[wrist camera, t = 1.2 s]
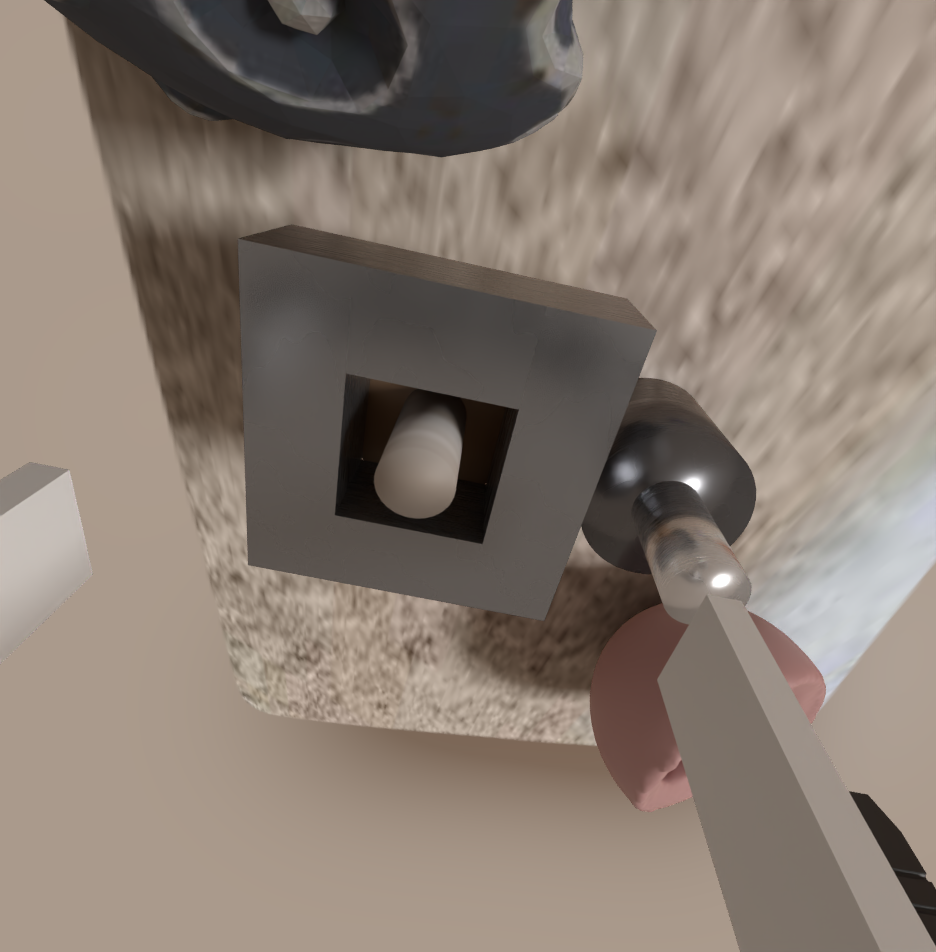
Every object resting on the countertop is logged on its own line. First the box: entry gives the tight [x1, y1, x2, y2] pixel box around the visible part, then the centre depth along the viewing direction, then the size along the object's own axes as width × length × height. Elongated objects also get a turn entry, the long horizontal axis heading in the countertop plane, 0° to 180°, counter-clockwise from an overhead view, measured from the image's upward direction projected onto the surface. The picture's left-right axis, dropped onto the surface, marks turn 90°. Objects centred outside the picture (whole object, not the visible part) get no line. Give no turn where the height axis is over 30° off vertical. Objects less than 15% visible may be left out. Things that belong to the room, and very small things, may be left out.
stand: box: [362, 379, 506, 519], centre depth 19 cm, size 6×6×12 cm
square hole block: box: [238, 224, 657, 621], centre depth 16 cm, size 10×10×4 cm
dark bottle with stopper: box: [581, 378, 756, 625], centre depth 22 cm, size 7×7×11 cm
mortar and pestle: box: [590, 603, 826, 812], centre depth 28 cm, size 12×12×12 cm
